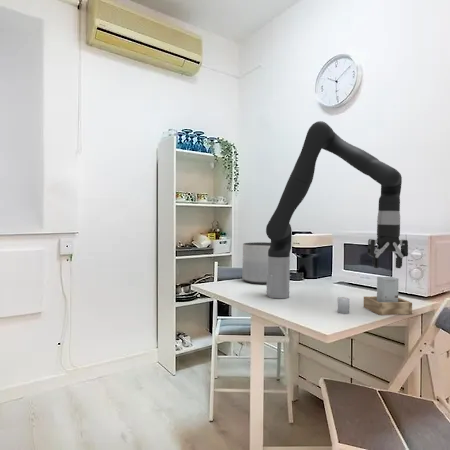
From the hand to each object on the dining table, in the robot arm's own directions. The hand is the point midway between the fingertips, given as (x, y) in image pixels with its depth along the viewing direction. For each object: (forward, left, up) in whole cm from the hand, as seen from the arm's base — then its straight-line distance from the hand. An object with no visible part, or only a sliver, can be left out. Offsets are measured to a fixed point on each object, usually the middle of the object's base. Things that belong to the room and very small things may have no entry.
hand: (387, 267), depth 123 cm
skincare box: (0, 0, -16) cm, 16 cm away
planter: (-33, +61, -16) cm, 71 cm away
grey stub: (-17, -1, -16) cm, 23 cm away
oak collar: (0, 0, -16) cm, 16 cm away
